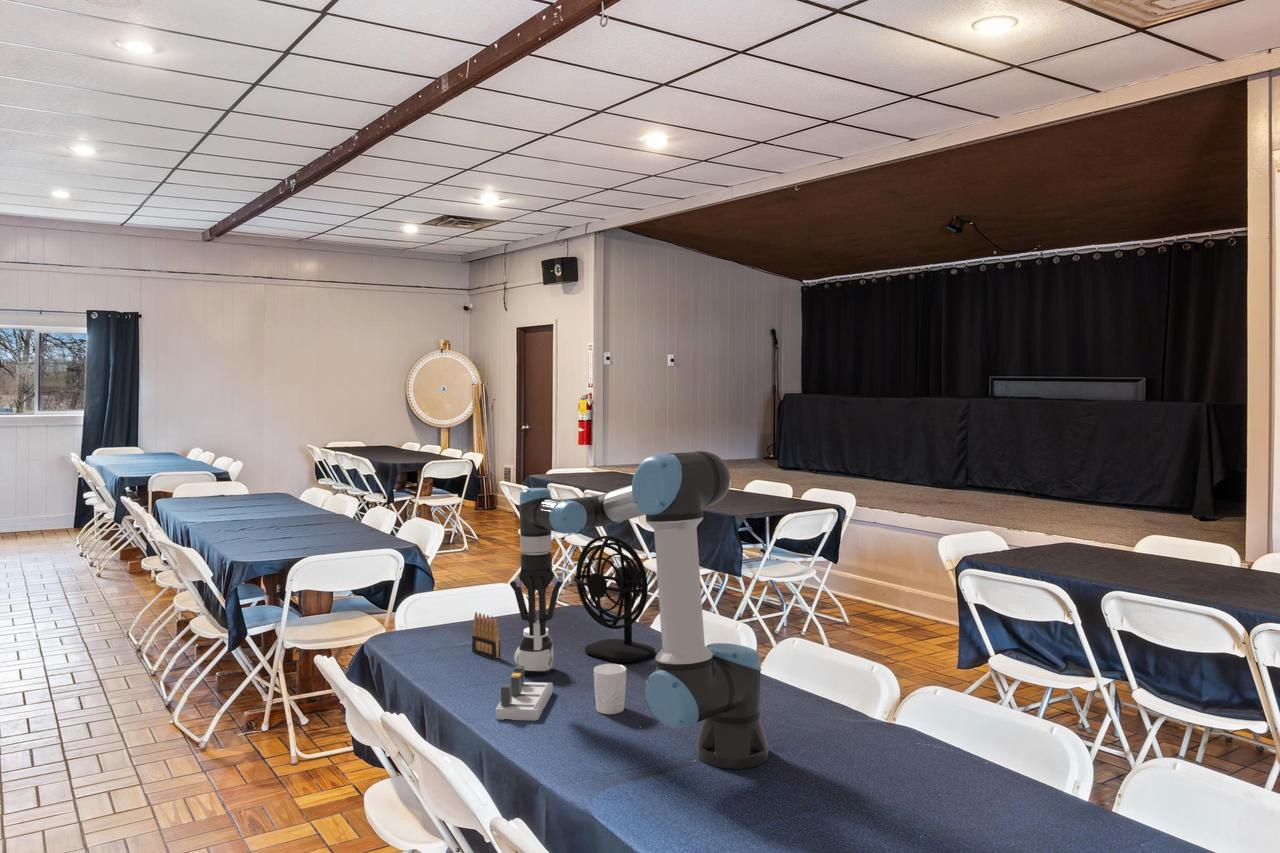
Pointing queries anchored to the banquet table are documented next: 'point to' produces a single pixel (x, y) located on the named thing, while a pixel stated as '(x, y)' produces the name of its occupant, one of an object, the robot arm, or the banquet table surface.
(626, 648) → the desk fan
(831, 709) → the banquet table surface
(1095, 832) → the banquet table surface
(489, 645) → the ammunition clip
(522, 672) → the handle
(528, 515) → the robot arm
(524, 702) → the breaker panel
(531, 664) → the spread jar
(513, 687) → the handle
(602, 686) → the white cup
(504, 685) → the handle
